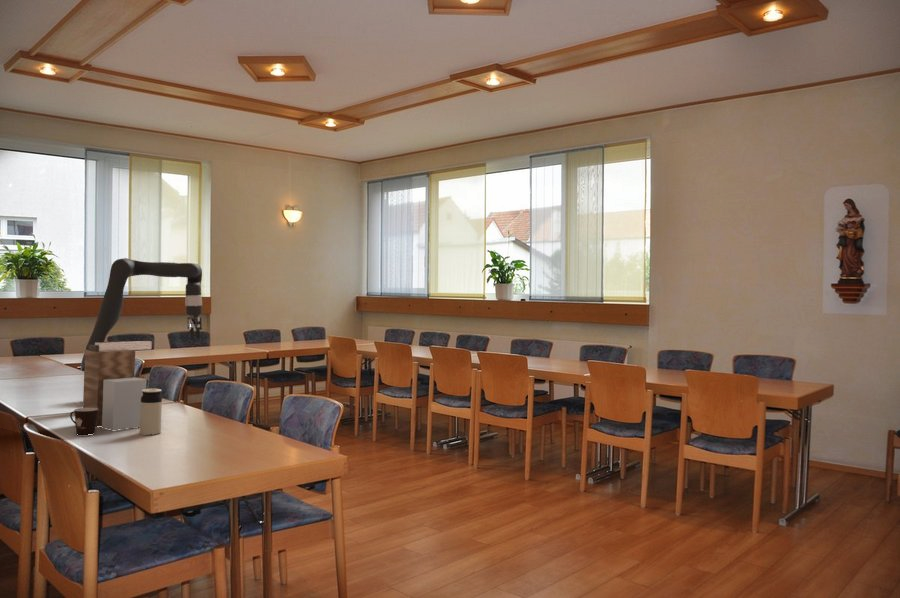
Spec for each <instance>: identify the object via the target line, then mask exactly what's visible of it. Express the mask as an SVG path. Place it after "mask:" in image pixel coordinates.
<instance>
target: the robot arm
mask: <svg viewBox="0 0 900 598" xmlns="http://www.w3.org/2000/svg"><path fill="white" fill-rule="evenodd" d="M109 271H110V272H109V277H108V282H107V287H106V289H105V293H104V295H103V298H102V301H101V304H100V307H99V311H98V314H97V319H96V321H95V324H94V328H93V330H92V333H91V335H90V336H89V337H90V338H89V339H88V342H87V344H86V347H85V350H89V345H95V343H100V342H106V341H105V340H106V338H107V336H108V334H109V333H110V331H111V330H112V329H113V328H114V327H115V326H116V325H117V323H118V321H119V320H120V317H121V314H122V310H123V307H124V290H125V286H126V284H127V281H128V278H131V277H135V276H154V277H163V278H186V279H187V280H186V281H187V284H186V285H185V300H184V301H185V315H186V316H187V319H186V321H187V330H188V331H189V332H188V333H189V338H190V339H195V340H200V339H201V330H203V328H202V327H203V326H202V324H203V323H202V317H201V315H203V297H202V281H203V269H202V267H201V266H200V265H199V264H198V263H192V262H184V263H183V262H160V261H159V262H156V261H155V262H152V261H150V262H149V261H140V260H135V259H130V258H127V257H124V258H118V259H116V260H115V261H113V262H112V264H111V267H110V270H109Z"/></svg>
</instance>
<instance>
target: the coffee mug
mask: <svg viewBox="0 0 900 598" xmlns="http://www.w3.org/2000/svg"><path fill="white" fill-rule="evenodd" d="M73 414H74V419H75V420H74V419H73V417H72V416H73ZM69 415H70V416H69V418H70V420H71V421H72V423H73V424H74V425H75V434H76V435H77V434H78V435H88V434H93V433H94V434H95V433H96V428H95V427H96V421H97V415H98V408H83V407H80V408H76V409H74V410H73V411H71V412H70V413H69ZM94 434H93V435H94ZM78 435H77V436H78Z"/></svg>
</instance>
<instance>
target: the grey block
mask: <svg viewBox="0 0 900 598" xmlns="http://www.w3.org/2000/svg"><path fill="white" fill-rule="evenodd" d="M147 381H148V380H147V379H145V378H140V377H137V376H136V377H135V376H134V378H121V379H108V380H104V382H103V410H102V427H103V428H107V429H111V430H118V429H126V428H134V427H140V410H141V397H142V395H143V392H142V390H144V389H147ZM102 427H101V428H102ZM134 429H135V428H134ZM126 430H127V429H126Z"/></svg>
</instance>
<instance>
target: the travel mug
mask: <svg viewBox="0 0 900 598" xmlns="http://www.w3.org/2000/svg"><path fill="white" fill-rule="evenodd" d="M142 392H143V395H142V397H141V410H140V428H139V434H140V435H142V434H146V435H145V436H151V435H150V434H156V435H159V434H160V433H162V410H163V409H162V407H163V406H162V405H163V404H162V403H163V397H162V395H161V393H162V389H160V388H146V389H144V390H142ZM158 433H159V434H158Z"/></svg>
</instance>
